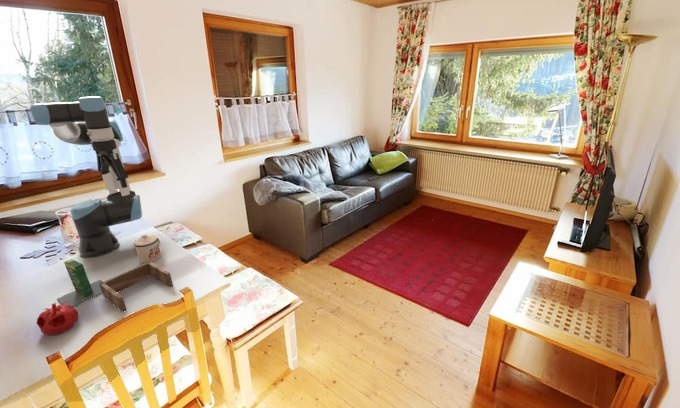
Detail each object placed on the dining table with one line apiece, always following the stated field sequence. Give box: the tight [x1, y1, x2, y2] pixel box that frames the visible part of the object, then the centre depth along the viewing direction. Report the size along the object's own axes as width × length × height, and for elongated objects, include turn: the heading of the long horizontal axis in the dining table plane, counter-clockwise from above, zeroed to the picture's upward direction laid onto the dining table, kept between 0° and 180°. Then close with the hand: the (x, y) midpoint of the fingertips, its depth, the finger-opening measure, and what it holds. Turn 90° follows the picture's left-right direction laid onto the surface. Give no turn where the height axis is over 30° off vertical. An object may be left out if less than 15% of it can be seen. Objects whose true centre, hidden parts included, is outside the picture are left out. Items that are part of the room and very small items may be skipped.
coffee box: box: [63, 258, 94, 298], centre depth 117 cm, size 8×3×13 cm, turn 61°
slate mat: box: [56, 279, 104, 308], centre depth 120 cm, size 10×14×1 cm
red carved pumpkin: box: [36, 301, 79, 336], centre depth 102 cm, size 10×10×9 cm
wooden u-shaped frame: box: [100, 261, 174, 313], centre depth 119 cm, size 15×18×6 cm
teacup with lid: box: [133, 233, 162, 264], centre depth 142 cm, size 12×9×12 cm
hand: (118, 192), depth 130 cm, fingers open, 13 cm apart
